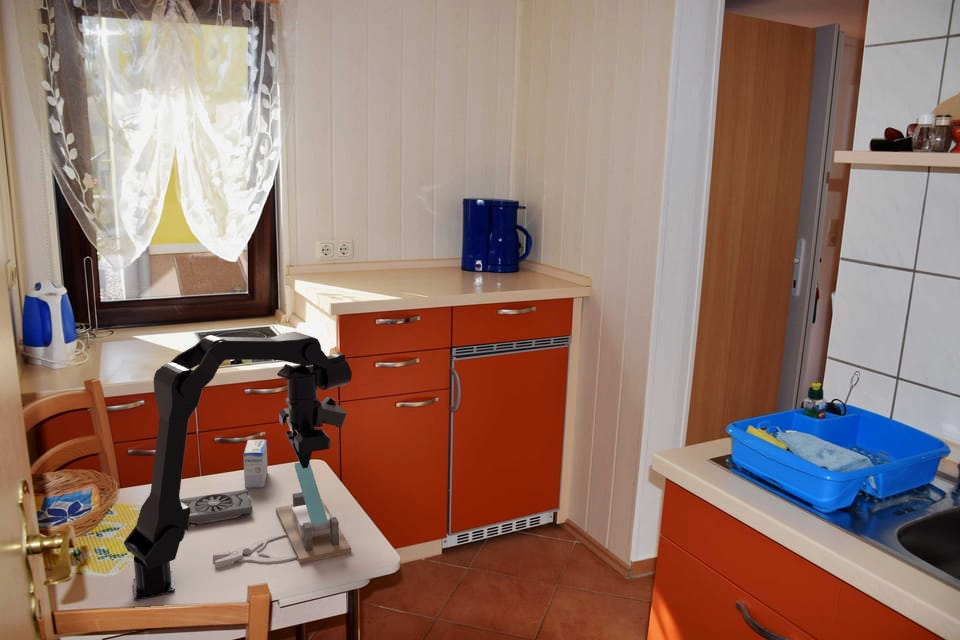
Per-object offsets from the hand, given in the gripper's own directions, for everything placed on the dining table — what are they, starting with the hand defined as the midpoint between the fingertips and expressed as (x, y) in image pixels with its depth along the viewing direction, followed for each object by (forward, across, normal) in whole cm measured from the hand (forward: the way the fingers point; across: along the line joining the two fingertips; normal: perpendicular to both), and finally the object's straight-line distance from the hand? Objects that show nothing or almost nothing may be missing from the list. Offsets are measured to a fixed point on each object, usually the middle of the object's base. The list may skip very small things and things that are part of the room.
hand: (304, 467), depth 153 cm
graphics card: (+13, +10, +18) cm, 24 cm away
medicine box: (+13, +24, +6) cm, 28 cm away
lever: (+4, -5, 0) cm, 6 cm away
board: (+12, -4, 0) cm, 13 cm away
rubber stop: (+12, +4, 0) cm, 13 cm away
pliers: (+13, -8, +12) cm, 19 cm away
